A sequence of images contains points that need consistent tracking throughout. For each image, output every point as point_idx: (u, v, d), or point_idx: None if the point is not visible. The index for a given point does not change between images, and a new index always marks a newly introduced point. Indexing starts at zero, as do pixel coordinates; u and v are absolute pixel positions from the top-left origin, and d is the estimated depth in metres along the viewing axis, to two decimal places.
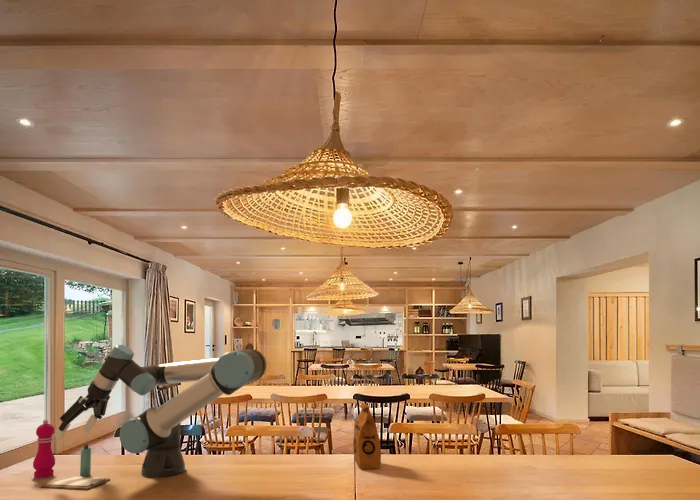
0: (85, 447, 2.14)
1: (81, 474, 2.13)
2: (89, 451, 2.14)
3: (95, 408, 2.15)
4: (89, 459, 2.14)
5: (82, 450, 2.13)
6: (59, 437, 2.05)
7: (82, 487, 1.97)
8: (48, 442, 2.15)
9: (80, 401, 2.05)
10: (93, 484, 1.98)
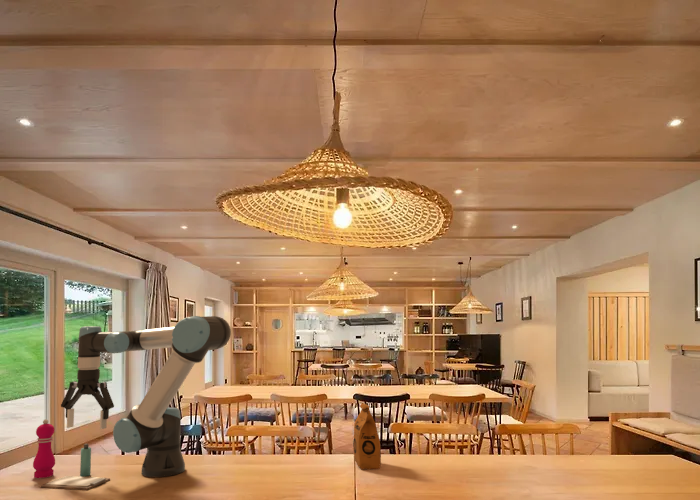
0: (85, 447, 2.14)
1: (81, 474, 2.13)
2: (89, 451, 2.14)
3: None
4: (89, 459, 2.14)
5: (82, 450, 2.13)
6: None
7: (82, 487, 1.97)
8: (48, 442, 2.15)
9: None
10: (93, 484, 1.98)
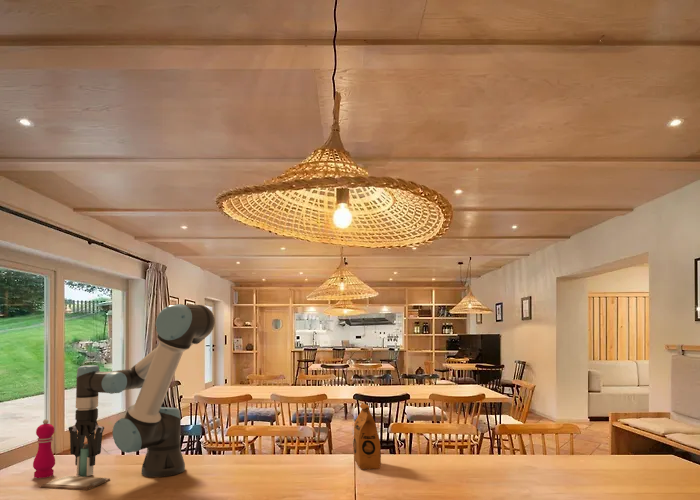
0: (85, 447, 2.14)
1: (81, 474, 2.13)
2: None
3: None
4: None
5: (82, 450, 2.13)
6: None
7: (82, 487, 1.97)
8: (48, 442, 2.15)
9: None
10: (93, 484, 1.98)
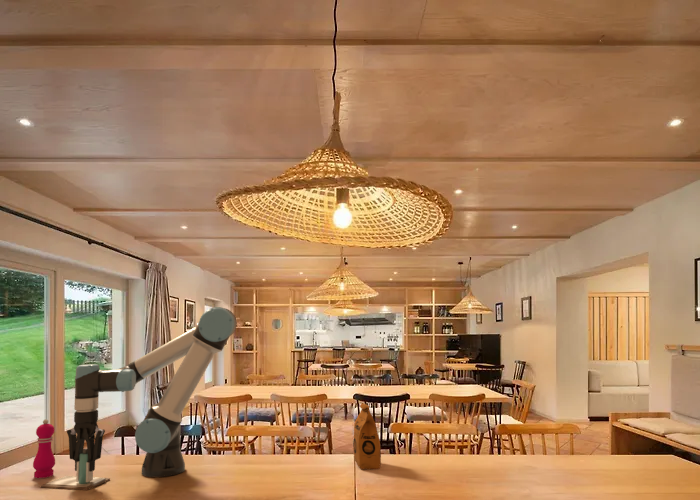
0: (84, 452, 2.01)
1: (80, 481, 1.99)
2: None
3: None
4: None
5: (81, 455, 2.00)
6: None
7: (82, 487, 1.97)
8: (48, 442, 2.15)
9: None
10: (93, 484, 1.98)
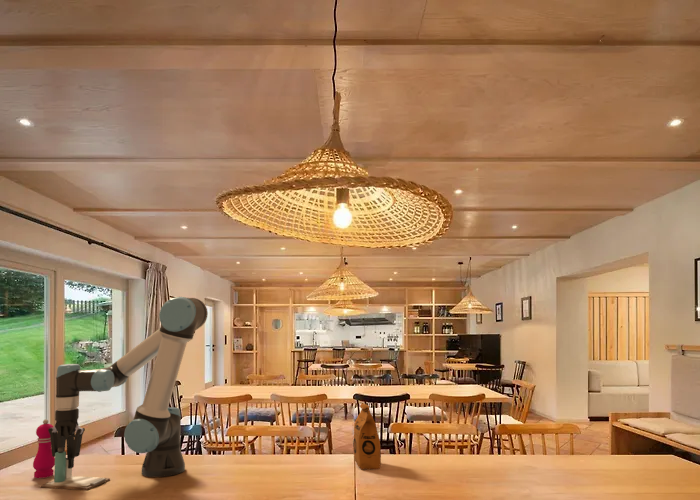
0: (60, 451, 2.04)
1: (57, 480, 2.02)
2: (65, 455, 2.05)
3: None
4: (65, 463, 2.04)
5: (58, 454, 2.03)
6: None
7: (82, 487, 1.97)
8: (48, 442, 2.15)
9: None
10: (93, 484, 1.98)
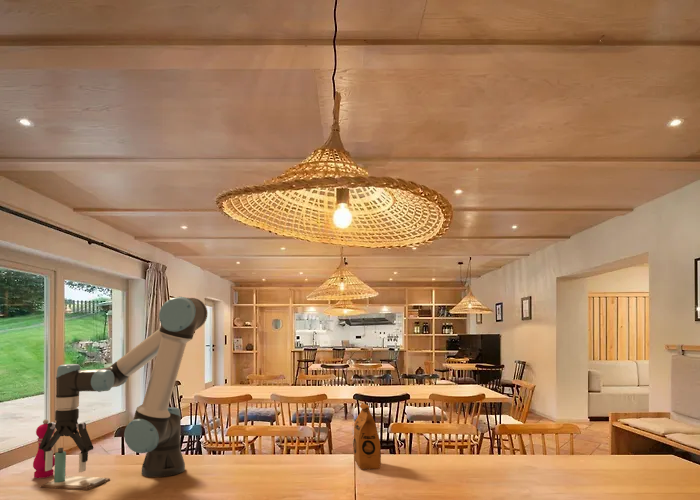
0: (60, 451, 2.04)
1: (57, 480, 2.02)
2: (65, 455, 2.05)
3: None
4: (65, 463, 2.04)
5: (58, 454, 2.03)
6: None
7: (82, 487, 1.97)
8: None
9: None
10: (93, 484, 1.98)
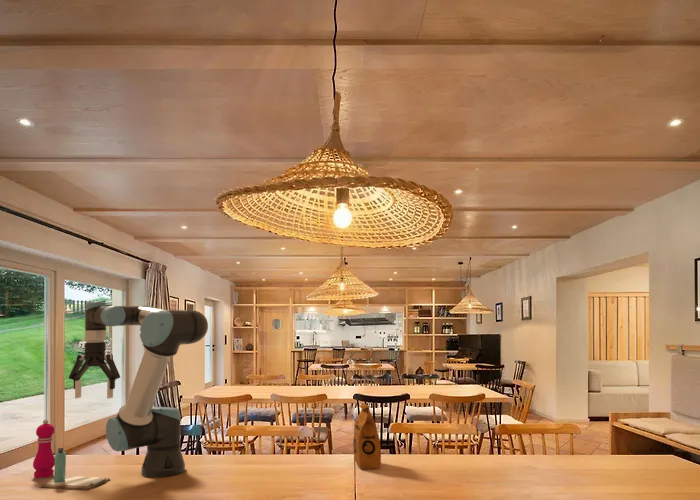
0: (60, 451, 2.04)
1: (57, 480, 2.02)
2: (65, 455, 2.05)
3: None
4: (65, 463, 2.04)
5: (58, 454, 2.03)
6: None
7: (82, 487, 1.97)
8: (48, 442, 2.15)
9: None
10: (93, 484, 1.98)
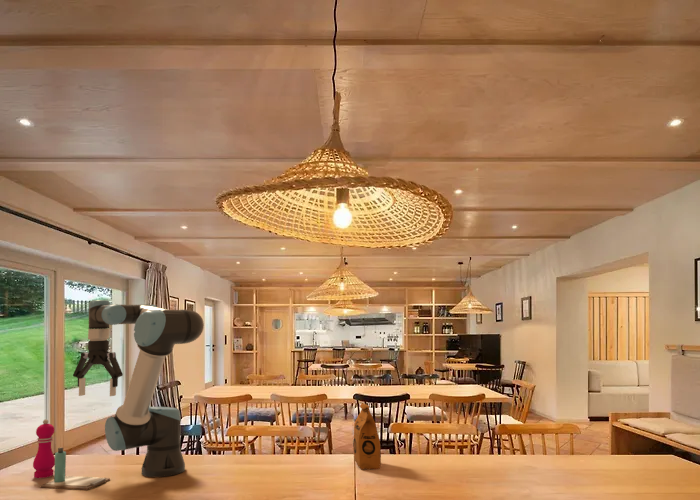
0: (60, 451, 2.04)
1: (57, 480, 2.02)
2: (65, 455, 2.05)
3: None
4: (65, 463, 2.04)
5: (58, 454, 2.03)
6: None
7: (82, 487, 1.97)
8: (48, 442, 2.15)
9: None
10: (93, 484, 1.98)
